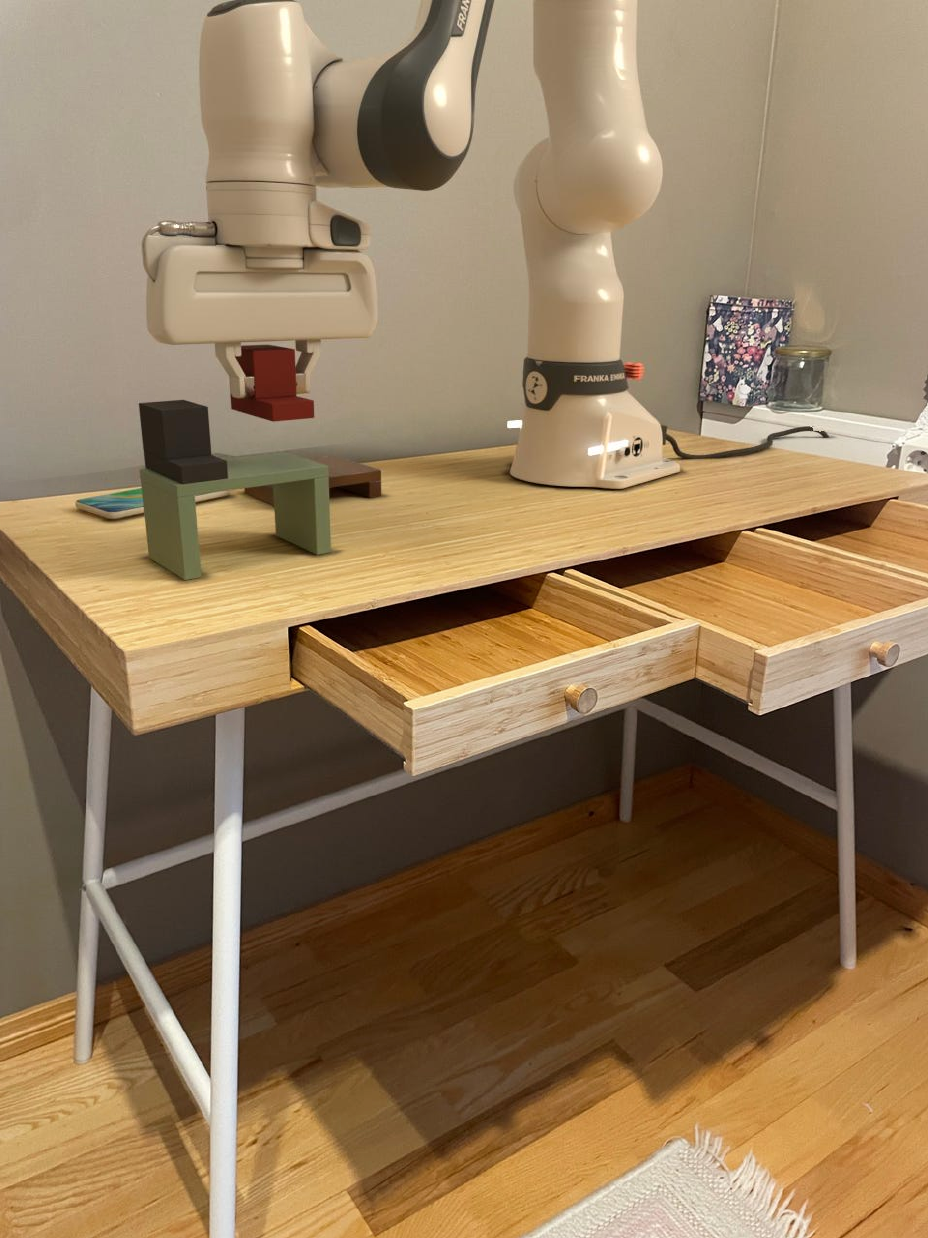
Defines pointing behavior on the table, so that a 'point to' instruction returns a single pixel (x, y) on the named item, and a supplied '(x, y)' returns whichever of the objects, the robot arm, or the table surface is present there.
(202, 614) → the table surface
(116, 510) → the smartphone
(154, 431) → the dark stepped block
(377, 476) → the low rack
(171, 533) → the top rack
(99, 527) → the table surface
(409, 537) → the table surface
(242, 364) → the red l-shaped step block
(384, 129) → the robot arm
